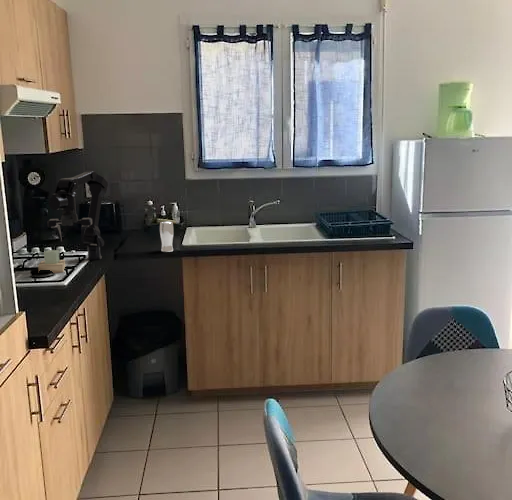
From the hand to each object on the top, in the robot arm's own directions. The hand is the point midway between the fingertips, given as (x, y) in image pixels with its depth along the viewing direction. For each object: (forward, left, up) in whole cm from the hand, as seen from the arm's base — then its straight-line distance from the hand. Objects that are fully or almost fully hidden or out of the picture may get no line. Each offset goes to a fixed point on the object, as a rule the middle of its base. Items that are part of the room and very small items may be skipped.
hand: (71, 241), depth 262 cm
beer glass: (-31, +43, -12) cm, 54 cm away
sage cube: (+8, -7, -8) cm, 14 cm away
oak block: (+8, -8, -12) cm, 16 cm away
